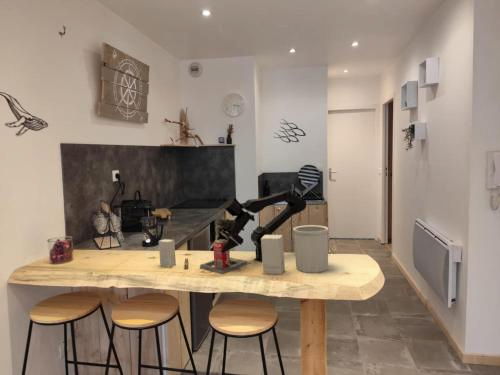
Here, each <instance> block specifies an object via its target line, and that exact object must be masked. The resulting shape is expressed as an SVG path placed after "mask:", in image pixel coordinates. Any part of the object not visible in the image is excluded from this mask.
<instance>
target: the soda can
mask: <svg viewBox="0 0 500 375" xmlns="http://www.w3.org/2000/svg"><path fill="white" fill-rule="evenodd" d="M226 242H227V240H225V239H219V240H217V239H215V240H214V243H213V260H214V265H213V266H214V267H215V268H219V269H223V268H226V267H228V266H231V264H230V257H231V256H230V254H231V253H230V250H228V251H226V252H224V253H222V252H221V250H222V248H223V247H224V245H225V244H226Z"/></svg>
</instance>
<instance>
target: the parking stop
mask: <svg viewBox="0 0 500 375" xmlns="http://www.w3.org/2000/svg"><path fill="white" fill-rule="evenodd" d="M183 264H184V270H188V269H189V258H188V257H187V258H184V263H183Z"/></svg>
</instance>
